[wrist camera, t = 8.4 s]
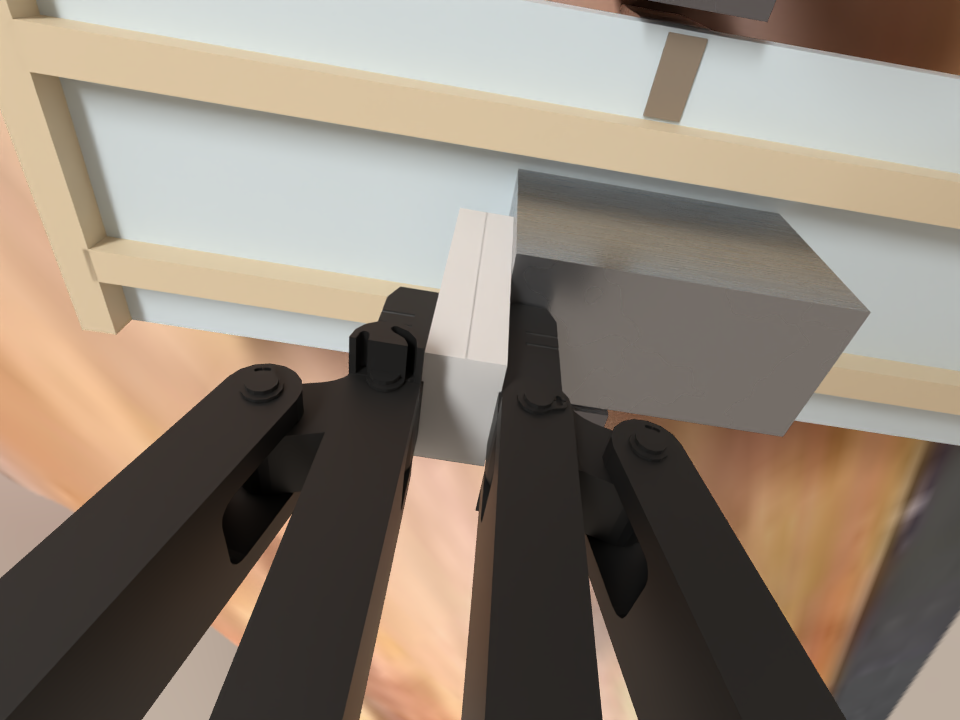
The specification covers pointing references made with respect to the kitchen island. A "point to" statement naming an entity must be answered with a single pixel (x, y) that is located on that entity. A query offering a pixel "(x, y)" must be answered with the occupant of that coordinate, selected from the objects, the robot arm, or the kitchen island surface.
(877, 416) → the beam
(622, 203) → the block
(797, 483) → the kitchen island surface
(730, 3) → the fulcrum
